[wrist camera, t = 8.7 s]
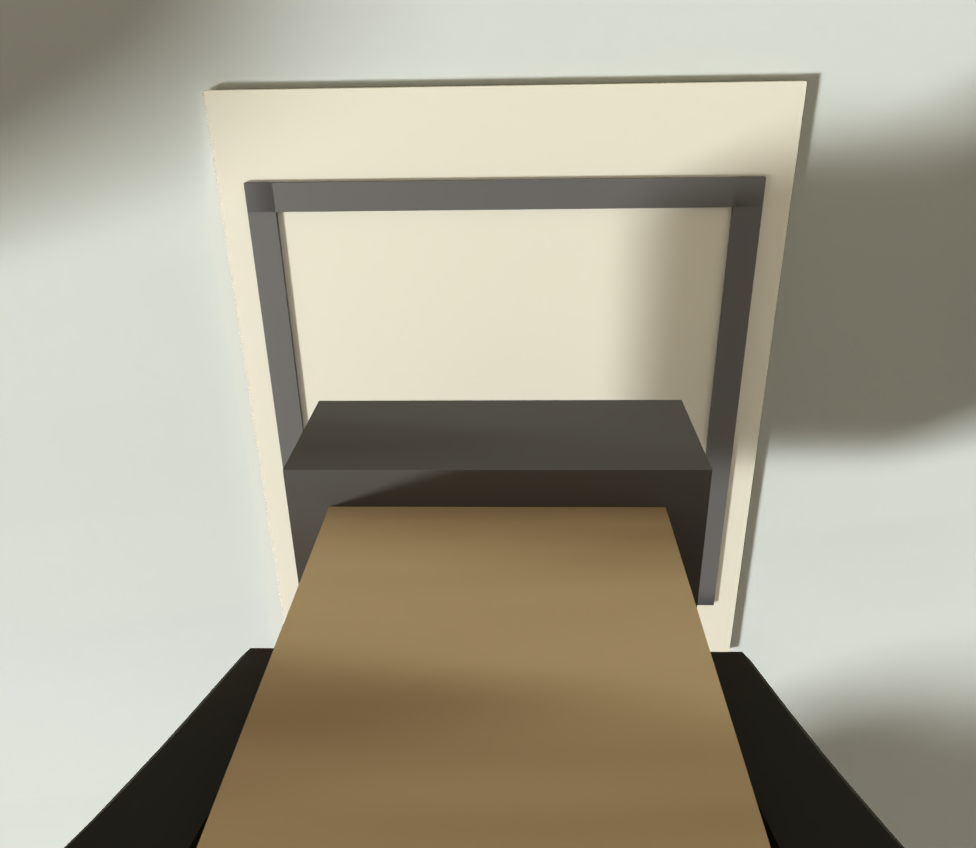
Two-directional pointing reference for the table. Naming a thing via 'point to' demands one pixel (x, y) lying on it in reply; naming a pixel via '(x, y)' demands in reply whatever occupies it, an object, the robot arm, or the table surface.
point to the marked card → (512, 261)
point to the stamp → (492, 638)
